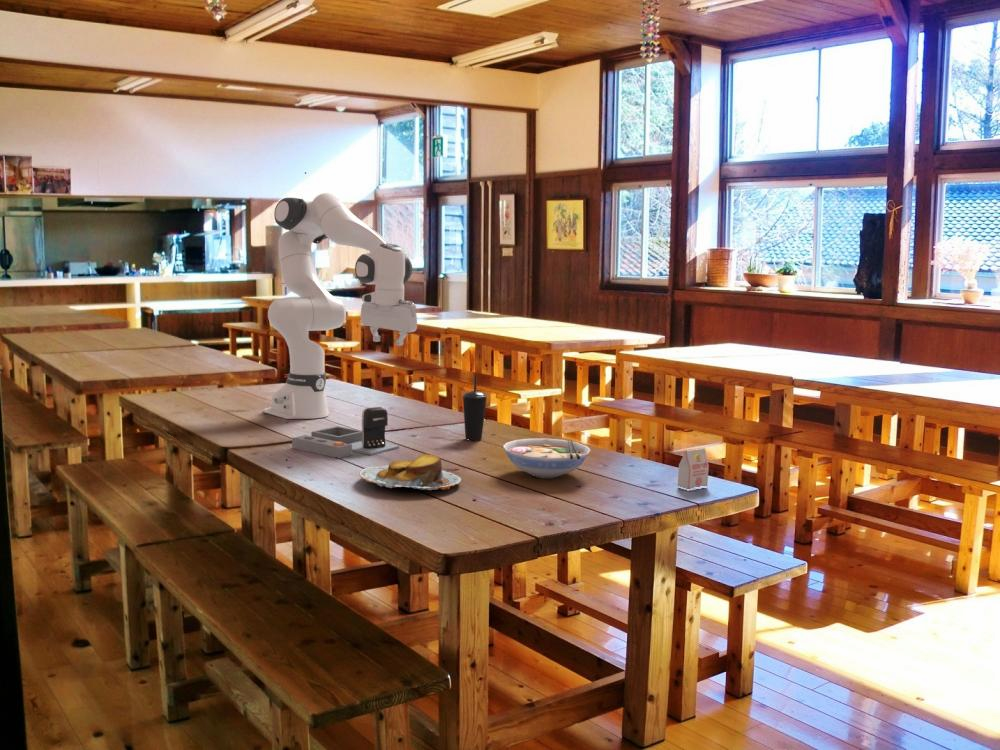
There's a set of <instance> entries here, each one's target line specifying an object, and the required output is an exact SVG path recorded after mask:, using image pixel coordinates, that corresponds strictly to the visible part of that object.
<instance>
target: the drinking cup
mask: <svg viewBox="0 0 1000 750" xmlns="http://www.w3.org/2000/svg"><path fill="white" fill-rule="evenodd" d="M473 376H474V377H473V390H469V391H467V392H465V393H462V394H461V396H462V402H463V416H464V417H463V418H464V419H463V420H464V434H465V437H464V438H465V440H466V439H469V440H480V439H481V440H482V438H483V431H484V430H483V428H484V423H485V421H484V420H485V413H486V404H487V398H488V394H487V393H485V392H483V391H480V390H477V376H478V375H477V373H474V375H473ZM469 440H468V441H469ZM481 440H480V441H481Z"/></svg>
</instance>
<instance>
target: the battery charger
mask: <svg viewBox="0 0 1000 750" xmlns="http://www.w3.org/2000/svg"><path fill="white" fill-rule="evenodd" d="M388 417H389V415H388V411H387V409H386V408H384V407H383V406H371V407H366V408H364V409H363V410H362V414H361V431H362V440H361V441H362V447H365V448H378V447H384V446H385V444H386V437H385V435H386V426H388V424H389V423H388V421H389V419H388Z"/></svg>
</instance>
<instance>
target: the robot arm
mask: <svg viewBox="0 0 1000 750" xmlns="http://www.w3.org/2000/svg"><path fill="white" fill-rule="evenodd" d="M273 213H274V214H273V215H274V220H275V221H274V222H275V223H276V224H277V225H278V226H279V227H281V228H282V229H284V230H286V232H284V233H282V234H281V235H280V236H279V238H278V258H279V266H280V269H281V276H282V281H283V284H284V286H285V287H286V289H287V290H288V291H290V292H292V293H293V294H295V295H297V296H299V297H297V296H296V297H293V296H291V297H283V298H278V299H275V300H273V301H272V302H271V303H270V304H269V307H268V309H267V319H268V321H269V324H270V325H271V327H272V328H273V329H275V330H276V331H277V332H278V333H279V334H281V336H282V337H283V339H284V340H285V343H286V345H287V347H288V353H289V365H290V368H289V372H288V373H286V374H284V377H283V378H286V381H285V384H283V385H282V386H280V388H279V389H278V390H276V391H275V392H274V393H273V394H272V396H271V400H270V406H269V407H266V408H263V413H265V414H267V415H268V414H269V415H272V416H275V417H279V418H282V419H285V420H289V419H290V420H294V419H303V420H304V419H307V420H309V419H320V418H321V419H322V418H325V417H328V416H329V415H330V412H329V411H330V410H329V408H328V401H327V392H326V388H325V387H326V384H327V383H326V382H327V380H326V379H327V376H326V372H325V355H326V354H325V350H324V348H323V347H322V346H321V345H320V344H319V343H317V342H316V341H313V340H312V339H311V340H310V338H309V334H308V333H309V332H310V331H311V332H313V331H314V332H315V331H317V332H318V331H330V330H335V329H338V328H339V329H340V328H341V327H342V326H343V325H344V323H345V321H346V319H347V309H346V306H345V303H343V301H342V300H340V299H339V298H337V297H335V296H334V295H333V294H331V293H330V292H329V291H328V290H327V289H326V288H325V286H324V285H323V283H322V282H321V280H320V279H319V276H318V273H317V269H316V264H315V261H314V260H315V259H314V256H313V252H312V244H321V243H322V241H323V240H327V239H329V240H330V241H331V242H333V243H335V244H337V245H342V246H346V247H354V248H359V249H364V250H365V251H368V252H367V253H363V254H361V255H360V256H359V257H358V258H357V260H356V262H355V265H354V273H355V275H356V278H357V280H358V281H359V282H360V283H362V284H365V285H374V286H375V287H374V291H372V292H369V293H366V294H365V293H364V294H363V295H362V296H361V300H362V302H363V303H362V304H361V308H360V309H361V310H360V323H361V324H362V326H366V327H367V326H368V327H369V329H370V330H369V331H370V332H371V335H372V341H373V342H376V343H378V342H381V335H379V331H378V330H379V329H385V330H392V331H398V335H399V337H398V338H397V339H395V345H396V346H400V347H401V346H404V340H405V339H406V337H407V335H408V333H414V332H416V331H417V329H418V318H417V317H418V316H417V305H416V304H414V302H413V301H412V300H405V284H406V283H407V282H408V281H409V279H410V278H411V276H412V273H413V264H412V262H411V260H410V258H409V256H407V254H405V251H404V248H402V246H400V245H398V244H393V243H390V242H388V240H386V239H385V237H383V236H382V235H381V234H380V233H379V232H377V231H376V230H375V229H374V228H372V226H369V225H368V224H367V223H365V222H363V221H362V220H361V219H360V218H358V217H357V216H356V215H355V214H353V212H352V211H351V210H350V209H349V208H348V207H347V206H346V204H345V203H344V202H343V201H341V200H340V199H339V198H338V197H337V196H335V195H333V194H332V193H329V192H325V193H324V192H323V193H320V194H318V195H316V196H315V198H314V199H313V200H312V201H307V200H304V199H303V198H298V197H297V198H296V197H284V198H282V199H280V200H279V201H278V203H277V204H276V206H275V208H274V212H273Z"/></svg>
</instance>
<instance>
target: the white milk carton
mask: <svg viewBox="0 0 1000 750" xmlns="http://www.w3.org/2000/svg"><path fill="white" fill-rule="evenodd" d="M707 457H708V456H707V453H706V448H697V449H695V448H694V449H689V450H684V453H683V455H682V458H681V459H680V462H679V464H678V474H677V487H678V486H680V487H683V488H686V489H691V488H694V487H700V486H707V487H708V483H709V481H708V480H709V469H710V468H709V467H710V466H709V462H708V458H707Z"/></svg>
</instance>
